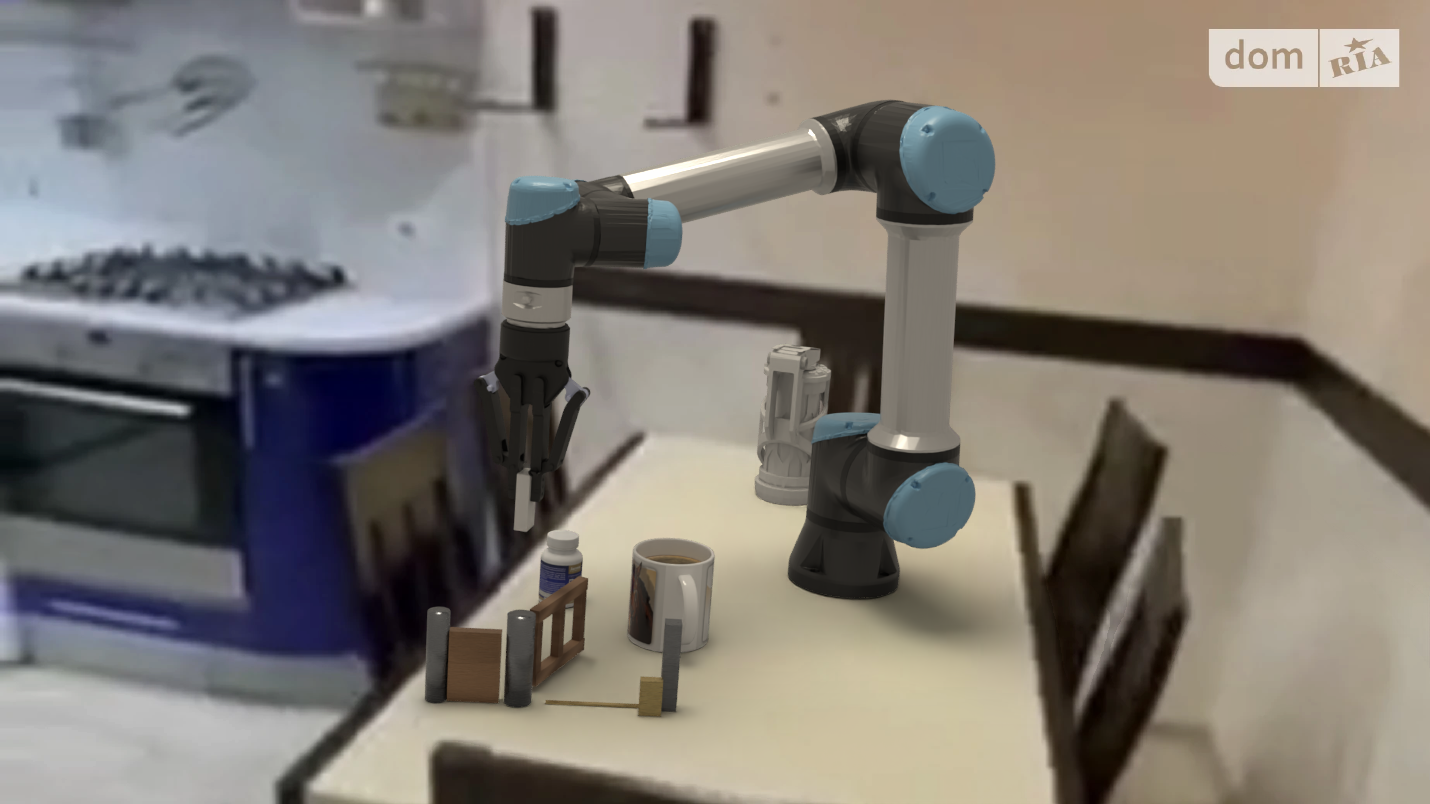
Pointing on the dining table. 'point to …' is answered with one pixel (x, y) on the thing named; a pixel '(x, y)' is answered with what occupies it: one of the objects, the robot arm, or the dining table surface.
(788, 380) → the lantern
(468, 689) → the fence
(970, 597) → the dining table surface
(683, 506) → the dining table surface
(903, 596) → the dining table surface
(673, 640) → the block
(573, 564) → the pill bottle
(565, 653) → the gate
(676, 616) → the mug
